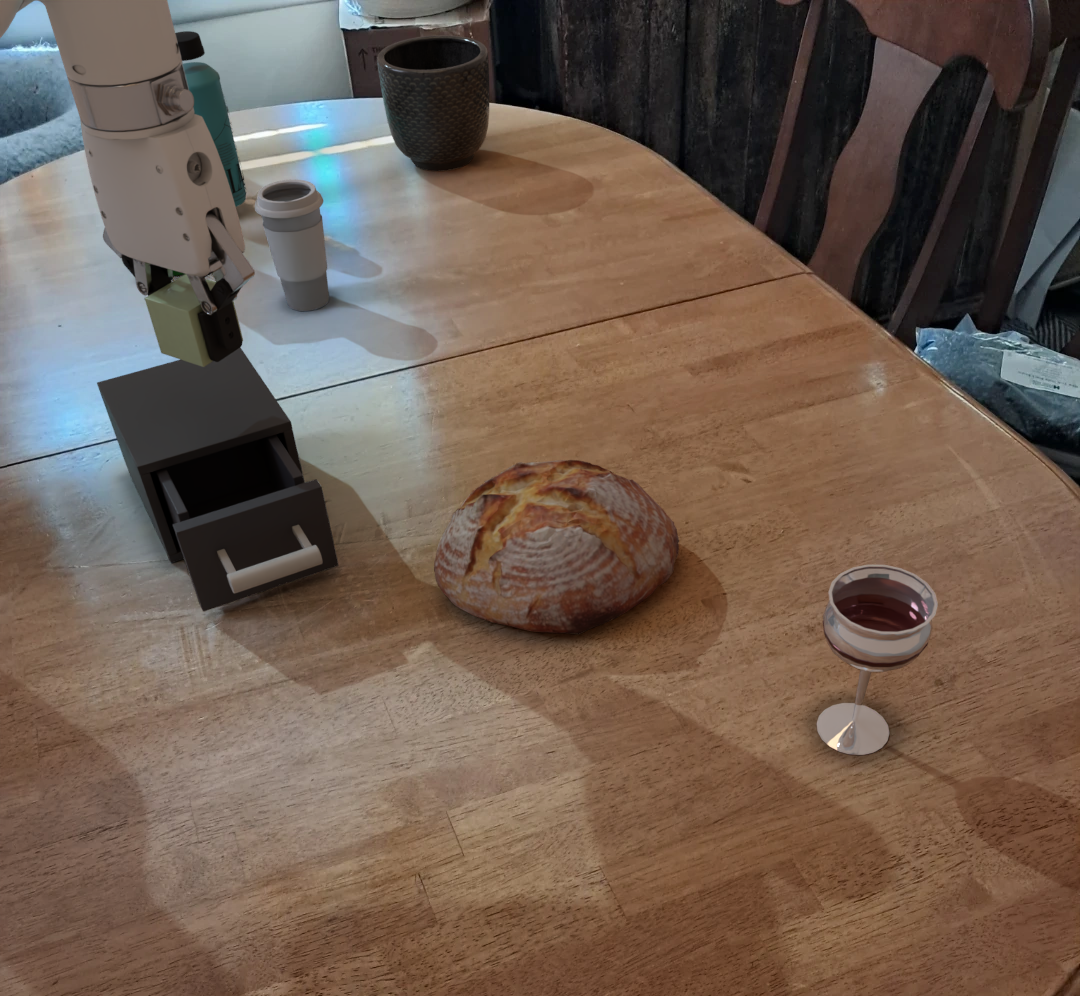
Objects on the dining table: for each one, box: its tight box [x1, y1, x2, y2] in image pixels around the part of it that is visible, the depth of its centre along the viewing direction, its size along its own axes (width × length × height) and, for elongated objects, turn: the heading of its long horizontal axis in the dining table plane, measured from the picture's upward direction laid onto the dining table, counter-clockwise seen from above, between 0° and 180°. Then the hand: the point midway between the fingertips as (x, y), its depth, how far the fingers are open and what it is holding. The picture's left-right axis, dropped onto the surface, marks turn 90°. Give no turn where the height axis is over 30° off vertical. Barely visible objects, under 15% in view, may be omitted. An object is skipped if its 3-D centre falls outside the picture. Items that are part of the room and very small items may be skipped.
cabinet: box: [96, 347, 306, 564], centre depth 99 cm, size 15×13×10 cm
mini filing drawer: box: [152, 435, 339, 613], centre depth 92 cm, size 18×11×8 cm, turn 27°
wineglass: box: [816, 564, 939, 756], centre depth 76 cm, size 7×7×12 cm
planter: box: [376, 34, 490, 172], centre depth 149 cm, size 14×14×13 cm
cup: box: [254, 179, 330, 312], centre depth 123 cm, size 7×7×12 cm
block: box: [144, 274, 244, 367], centre depth 90 cm, size 5×5×5 cm
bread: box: [433, 459, 680, 635], centre depth 90 cm, size 16×20×10 cm
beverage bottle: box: [175, 30, 248, 208], centre depth 137 cm, size 6×7×20 cm
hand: (201, 343), depth 91 cm, fingers closed on block, 4 cm apart
